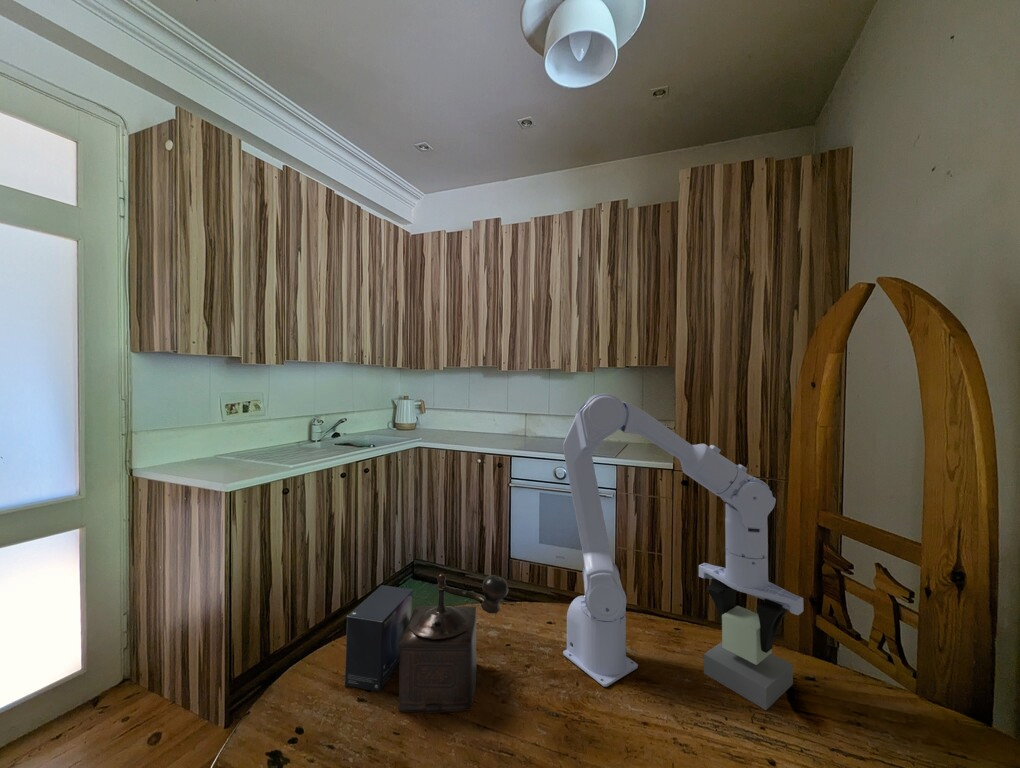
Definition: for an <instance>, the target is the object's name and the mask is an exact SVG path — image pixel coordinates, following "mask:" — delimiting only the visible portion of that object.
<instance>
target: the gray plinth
mask: <svg viewBox="0 0 1020 768" xmlns="http://www.w3.org/2000/svg"><path fill="white" fill-rule="evenodd" d="M703 674H704V675H705V676H707V677H709V678H711V679H712V680H714V681H715V682H717V683H719V684H720V685H723V686H724V687H726V688H727V689H729V690H731V691H733V692H734V693H736V694H737V695H739V696H740V697H742V698H745V699H746V700H747V701H750V702H751V703H753V704H754V705H756V706H757V707H759V708H761V709H763V710H765V711H767V710H768V709H769V708H771V706H772V705H773V704H775V702H776V701H777V700H778V699H779V698H781V697H782V695H783V694H785V692H787V691H788V690H789V688H791V687H792V686H793V685H794V665H793V663H791V662H789V661H788V660H785V658H784V659H783V658H781V657H780V656H777V655H775V654H773V653H771V654H770V655H768V656H767V657H766V658H765V659H763V660H762V661H761V662H760V663H759V664H757V665H755V664H753V663H752V662H750V661H748V660H746V659H744V658H742V657H740V656H738V655H736V654H734V653H732V652H730V651H728V650H726V649H725V648H723V647H722V641H720V642H719V643H718V644H716V645H715V646H713V647H712V648H710V649H709V650H708V651H706V652H704V653H703Z"/></svg>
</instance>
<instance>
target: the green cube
mask: <svg viewBox="0 0 1020 768" xmlns="http://www.w3.org/2000/svg"><path fill="white" fill-rule="evenodd" d="M760 639H761V629H760V621H759V616H758V612H757V613H756V612H755V611H751V610H750V609H747V608H745V607H743V606H740V605H735V606H734V608H733V609H731V610H729V611H728V612H726V613H724V614H723V615H722V623H721V642H722V647H723V648H725V649H726V650H728V651H730V652H732V653H734V654H736V655H738V656H740V657H742V658H744V659H746V660H748V661H750V662H752V663H753V664H755V665H757V664H759V663H760V662H761V661H762V660H763V659H765V658H766V657H767V656H768V655H770V654H773V653H772V652H773V648H772V649H771V650H770V651H769V652H767V653H765V652H763V651H762V650H761V643H760Z"/></svg>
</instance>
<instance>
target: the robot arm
mask: <svg viewBox="0 0 1020 768" xmlns="http://www.w3.org/2000/svg"><path fill="white" fill-rule="evenodd" d="M618 431H621V432H622V433H624V434H637V435H641V437H643V438H645V439H647V440H648V441H650V442H651V443H653V444H655V445H656V446H657V447H659V448H660V449H662V450H664V451H665V452H667V453H668V454H669V455H671V456H672V457H674V458H676V459H678V460H679V463H680V467H681V470H682V473H683V474H684V475H686V476H688V477H689V478H690V479H692V480H693V481H695V482H696V483H697V484H699V485H701V486H702V487H704V488H705V489H707V490H708V491H710V492H711V493H713V494H714V495H715V496H717V497H720V499H721V501H723V502H724V503H725V519H724V522H725V523H724V524H725V529H724V530H725V532H724V533H725V567H722V566H718V565H714V564H710V563H707V562H703V563H701V564H699V565H698V577H699V578H701V579H708V580H711V581H710V584H709V585H707V593H708V594H709V595H710V597H711V599H712V601H713V602H714V605H715V607H716V609H717V613H718V616H719V618H720V622H721V624H722V615H723V614H724V613H726V612H728V611H729V610H731V609H733V608H734V607H736V605H735V603H736V596H737V592H741V593H744V594H748V595H750V596H752V597H755V598H757V599H761V600H763V602H761V603H760V604H758V605H757V606H756V611H757V614H758V616H759V621H760V629H761V639H760V643H761V650H762V651H763V652H765V653H767V652H769V651H770V650H771V649H772V650H773V645H774V641H775V637H776V633H777V631H778V628H779V626H780V624H781V622H782V620H783V619H784V617H785V615H786V613H787V612H789V613H790V614H792V615H795V616H799V615H801V614H802V613H804V598H803V597H802V596H800V595H796V594H794V593H792V592H790V591H788V590H786V589H785V588H782V587H780V586H778V585H776V584H775V583H772V582H770V581H769V544H768V542H769V540H768V538H769V536H768V531H769V529H768V527H769V526H768V517H769V514H771V512H772V511H773V509H774V508H775V505H776V502H777V501H776V499H777V498H776V497H774V496H773V492H772V490H770V486H769V485H768V484H767V483H766V482H764V480H761V479H759V478H757V477H755V476H752V475H750V474H749V473H747V472H748V471H747V470H748V468H747V467H746V466H744V465H742V464H740V463H738V464H736V463H734V462H733V461H732V460H730V459H728V458H726V457H725V456H723V455H722V454H720V452H721V451H722V450H721V448H718V447H717V446H716V445H714V444H710V445H709V446H708V445H707V444H705V443H698V444H691V443H690V442H688V441H687V440H685V439H684V438H682V436H680V435H679V434H677V433H676V432H674V431H673V430H672V429H670V428H669V427H668V426H666V425H665V424H663V423H661V422H660V420H658V419H656V418H655V417H653V416H652V415H650V414H649V413H648V412H646V411H645V410H643V409H641V408H640V407H637V406H635V405H633V404H631V403H629V402H627V401H622V400H621V398H619V397H617V396H616V395H614V394H611V393H597V394H593V395H591V396H589V398H587V399H586V400H585V401H584V403H582V405H581V406H580V407H579V408H578V409H577V411H576V414H575V416H574V418H573V421H572V422H571V425H570V428H569V429H568V432H567V434H566V436H565V438H564V441H563V443H562V444H563V445H562V447H563V450H562V451H563V455H564V460H565V466H566V472H567V478H568V481H569V482H568V483H569V486H570V493H571V498H572V503H573V508H574V515H575V518H576V523H577V524H576V525H577V529H578V535H579V541H580V545H581V550H582V555H583V556H582V558H583V565H584V566H583V569H582V580H583V586H584V587H583V588H584V595H578V596H577V597H575V598H574V599H573V600H572V601H571V603H570V604H569V606H568V609H567V613H566V649H564V650H563V651H562V655H563V656H564V657H566V658H567V659H568V660H569V661H570V662H572V663H573V664H574V665H576V666H577V667H578V668H579V669H580V670H582V671H584V673H586V674H587V675H588V676H589V677H591V678H592V679H593V680H595V681H596V682H597V683H598V684H600V685H601V686H602V687H604V688H605V687H606V688H607V687H609V686H610V685H612V684H613V683H615V682H617V681H618V680H621V678H623V677H625V676H627V675H628V674H630V673H632V672H633V671H636V670H637V669H638V667H639V664H638V663H637V662H635V661H634V660H632V659H631V658H629V657H627V651H626V650H627V642H626V641H627V640H626V639H627V635H626V634H627V629H626V627H627V625H626V624H627V623H626V622H627V620H626V618H627V613H626V611H627V609H626V607H627V595H626V592H625V590H624V588H623V585H622V582H621V579H620V577H621V575H620V572H619V571H620V570H619V569H618V566H617V565H616V563H615V562H614V561H613V558H612V553H611V550H610V549H611V548H610V544H609V542H610V541H609V537H608V532H607V526H606V523H605V517H604V511H603V507H602V503H601V502H602V500H601V495H600V491H599V486H598V481H597V477H596V472H595V471H596V470H595V465H594V460H593V454H594V453H595V451H596V450H597V448H598V447H599V446H600V445H601V444H602V442H603V441H604V440H605V439H607V438H609V437H610V436H612V435H614V433H617V432H618Z"/></svg>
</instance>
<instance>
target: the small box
mask: <svg viewBox="0 0 1020 768" xmlns="http://www.w3.org/2000/svg"><path fill="white" fill-rule="evenodd" d="M412 614H413V589H412V588H405V587H397V586H390V585H384V584H382V585H380V586H379V587H377V589H375V590H374V591H373V592H372V593H370V595H368V596H367V597H366V599H364V600H363V601H362V602H361V603H360V604H359V605H357V607H355V608H354V609H353V610H352V611H351V612H350V613H348V614H347V615H346V637H345V639H346V641H345V668H344V670H345V672H344V686H346V687H353V688H359V689H363V690H369V691H374V692H381V691H382V690H383V688H384V687H385V685H386V684H387V683H388V682H389V680H390V678H392V676H393V675H394V674H395V672H396V671H397V670H398V669H399V654H400V650H399V644H400V640H401V638H402V636H403V633H404V631H405V629H406V627H407V625H408V623H409V620H410V618H411V616H412ZM395 670H396V671H395Z"/></svg>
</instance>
